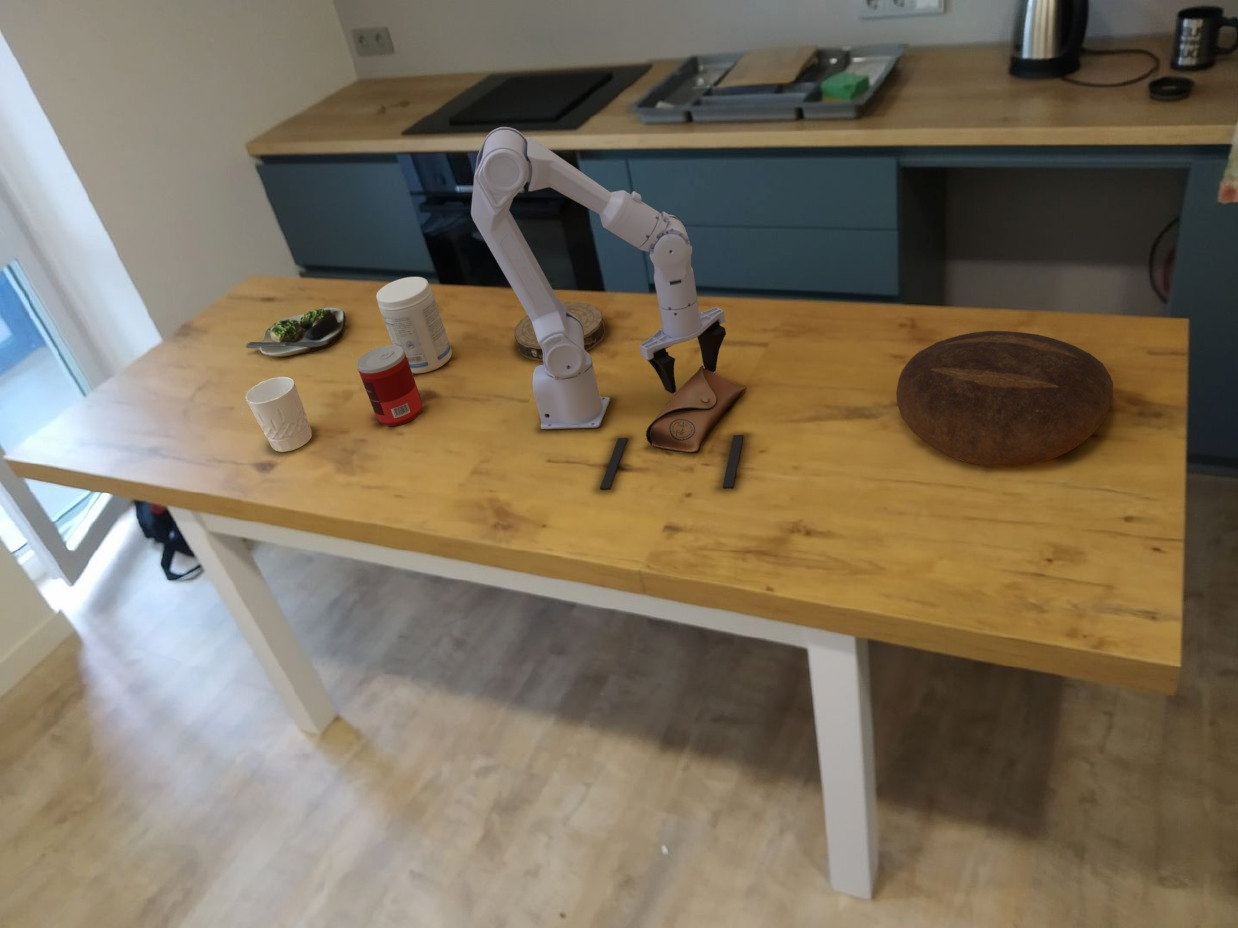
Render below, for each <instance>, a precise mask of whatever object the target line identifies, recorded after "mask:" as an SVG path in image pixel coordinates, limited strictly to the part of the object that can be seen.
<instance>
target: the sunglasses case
mask: <svg viewBox="0 0 1238 928" xmlns="http://www.w3.org/2000/svg"><path fill="white" fill-rule="evenodd" d="M746 389H747V386H741V385H738V384H737V383H734V382H732V381H731V380H729V379H727V378H725V377H723V376H721V375H719V374H717V373H716V372H711V371H709V370H707V369H705V368H704V365H703V364H702V365H701V366H700V367H699V369H698V370H697V371H696V372H695V373H694V374H693V375H692V376H691V377H690V378H689V379H688V380H687V381H686V382H685V383H684V384H683V386H682V387H680V389H679V390H678V391H676V392H675V393H676V394H675V395H673V397H672V398H671V399H670V400H669V401H668V403H666V405H665V406H664V407H663V408H662V410H661V411H660V412H658V413H659V414H658V415H657V416H656V417H655V419H654V420H653V421H652V422H651V423H650V424H649V425H648V427H647V429H646V431H645V436H646V440H647V442H648V443H649V444H650V446H652V447H653V448H658V449H662V450H666V451H673V452H679V453H696V452H698V451H699V450H700V448H701V447H702V445H703V443H704V441H705V439H706V438H707V437H708V435H709V434H710V432H711V431H712V430H713V429H714V427H715V426H716V425H717V424H718V422H719V421H720V420H721V418H722V417H723V416H724V415H725V414H726V412H728V410H729V409H730V408H731V407H733V405H734V404H735V402H736V401H737V400H738V399H739V398H740V397H741V395H742V394H743V393H744V392H745V390H746Z"/></svg>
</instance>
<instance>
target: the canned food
mask: <svg viewBox="0 0 1238 928" xmlns="http://www.w3.org/2000/svg"><path fill="white" fill-rule="evenodd" d="M356 361H357V362H356V367H357V371H358V373H359V376H360V379H361V381H362V385H363V387H364V389H365V391H366V394H367V397H368V400H369V402H370V404H371V407H372V410H373V412H374V415H375V417H376V419H377V420H378V422H379V423H380V424H381V425H383V426H386V427H396V426H402V425H405V424H407V423H409V422H411V421H413V420H415V419H416V418H417V417H418V416H419V415H420V414H421V413H422V412H423V400H422V397H421V394H420V392H419V388H418V386H417V383H416V380H415V377H414V373H412V371H411V368H410V365H409V362H408V359H407V357H406V354H405V351H404V350H403V348H402V347H400V346H397V345H393V344H388V345H382V346H378V347H375V348H373V349H370V350H368V351H367V352H365V353H363V354H362V356H360V357H359V358H358V359H357V360H356Z"/></svg>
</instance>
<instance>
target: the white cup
mask: <svg viewBox="0 0 1238 928" xmlns="http://www.w3.org/2000/svg"><path fill="white" fill-rule="evenodd" d="M244 398H245V401H246V403H247V405H248V407H249V408H250V410H251V412H252V414H253V416H254V418H255V420H256V422H257V424H258V425H259V427H260V428H261V430H262V433H263V435H264V436H265V437H266V438H267V441H268V443H269V444H270V446H271V449H273V450H274V451H276V452H280V453H286V452H291V451H294V450H297V449H299V448H302V447H303V446H305V445H306V444H307V443H309V441H310V440H311V439H312V437H313V431H312V428H311V425H310V423H309V420H308V416H307V413H306V410H305V407H304V405H303V402H302V399H301V397H300V394H299V391H298V389H297V386H296V383H295V380H294V379H293V378H291V377H288V376H276V377H273V378H268V379H265V380H263V381H261V382H259V383H257V384H256V385H254V386H253V387H251V388H250V389H249V390H248V391H247V392H246V393H245V397H244Z"/></svg>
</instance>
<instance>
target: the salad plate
mask: <svg viewBox="0 0 1238 928" xmlns="http://www.w3.org/2000/svg"><path fill="white" fill-rule="evenodd" d="M345 326H346V312H345V311H344V310H343V309H342V308H340V307H333V306H331V307H325V308H319V309H313V310H311V311H307V312H306V313H303V314H298V315H293V316H289V317H286V318H285V317H284V318H282V319H279V320H277V321H276V322H274V323H273V324H271V325H270V326H269V327H267V328H266V330H265V331H264V334H263V338H262V341H250V342H248V343H246V345H245V348H246V349H249V350H258V351H260V352H261V354H263V355H266V356H269V357H291V356H294V355H295V356H296V355H301V354H304V353H311V352H315V351H318V350H322V349H325V348H328V347H329V346H331V345H333V344H335V343H337V342H338V341H339V340H340V339H341V337H342V336H343V334H344V330H345Z"/></svg>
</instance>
